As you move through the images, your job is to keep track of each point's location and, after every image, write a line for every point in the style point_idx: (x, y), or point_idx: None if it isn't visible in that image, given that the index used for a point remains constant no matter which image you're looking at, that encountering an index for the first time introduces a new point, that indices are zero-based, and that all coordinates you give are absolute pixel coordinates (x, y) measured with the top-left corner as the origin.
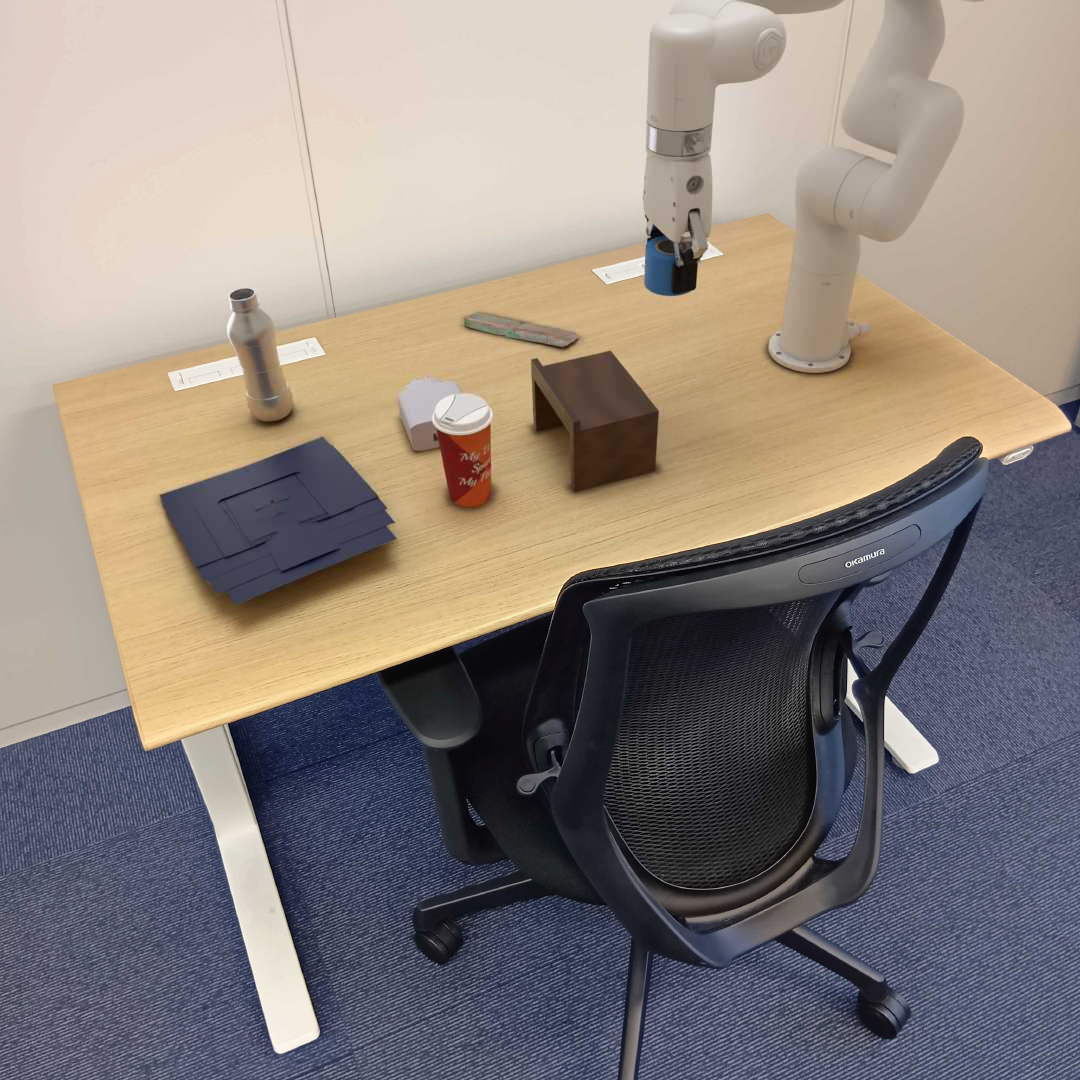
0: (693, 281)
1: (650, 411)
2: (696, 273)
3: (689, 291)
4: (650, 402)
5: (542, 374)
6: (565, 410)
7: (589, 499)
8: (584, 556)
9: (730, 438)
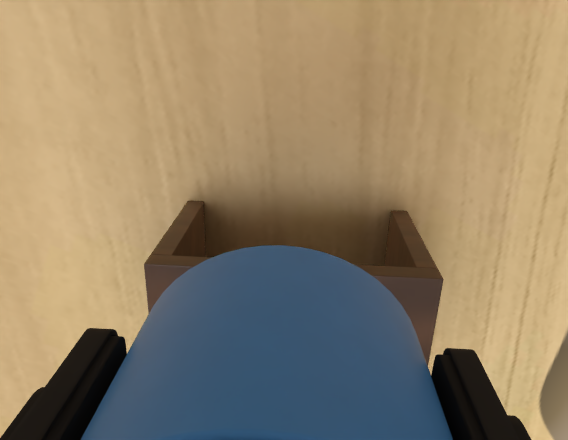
0: (527, 435)
1: (435, 297)
2: (512, 431)
3: (417, 337)
4: (402, 281)
5: None
6: None
7: None
8: (528, 388)
9: (390, 13)
